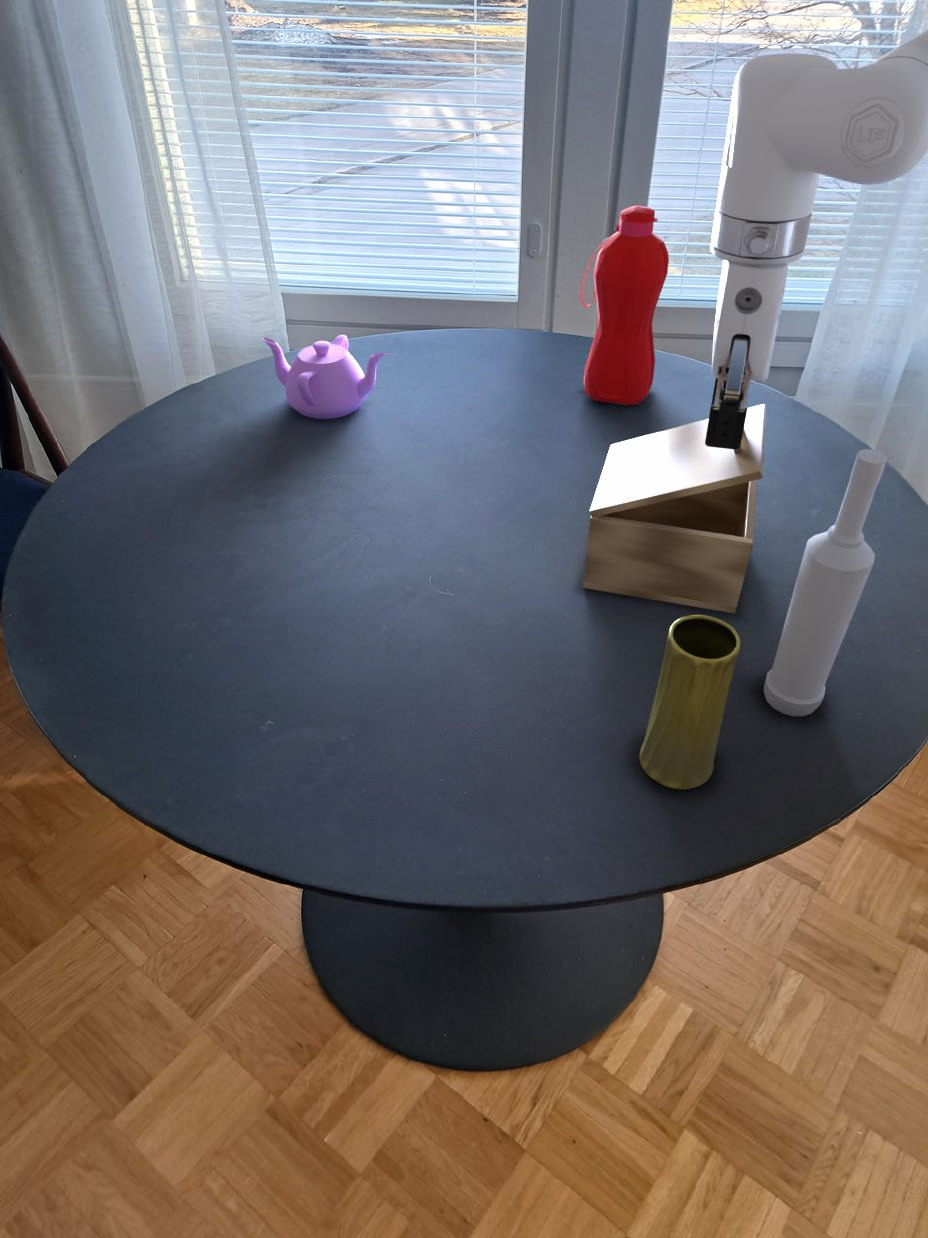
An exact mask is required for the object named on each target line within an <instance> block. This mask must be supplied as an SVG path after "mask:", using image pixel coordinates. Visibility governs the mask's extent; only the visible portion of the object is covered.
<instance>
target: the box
mask: <svg viewBox="0 0 928 1238" xmlns="http://www.w3.org/2000/svg"><path fill="white" fill-rule="evenodd" d="M757 490H758V480H754V481H750V482H745V483H741V484H737V485H732V486H728V487H724V488H719V489H715V490H710V491H706V492H702V493H697V494H693V495H689V496H684V497H680V498H675V499H671V500H667V501H662V502H658V503H654V504H649V505H645V506H641V507H636V508H632V509H627V510H623V511H619V512H614V513H610V514H606V515H601V516H597V517H592V516H591V515H590V518H589V527H588V534H587V535H588V537H587V546H586V554H585V555H586V556H585V564H584V565H585V566H584V574H583V584H582V588H583V589H588V590H593V591H599V592H605V593H611V594H617V595H622V596H623V595H624V596H629V597H635V598H640V599H641V598H642V599H646V600H653V601H659V602H665V603H671V604H677V605H681V606H688V607H693V608H699V609H705V610H712V611H718V612H722V613H729V614H735V615H736V611H737V609H738V608H737V607H738V604H739V600H740V596H741V592H742V589H743V585H744V581H745V577H746V572H747V569H748V565H749V561H750V557H751V553H752V549H753V545H754V536H755V535H754V533H755V518H756V506H757V505H756V504H757V492H758V491H757Z"/></svg>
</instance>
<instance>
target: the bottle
mask: <svg viewBox="0 0 928 1238" xmlns="http://www.w3.org/2000/svg"><path fill="white" fill-rule="evenodd" d="M887 462H888V457H887V455H886V454H885V453H883V452H882V451H879V450H877V449H871V448H869V449H867V448H866V449H860V450H859V451H858V452H857V454H856V457H855V460H854V462H853V463H854V464H853V467H852V469H851V473H850V476H849V481H848V484H847V486H846V487H847V488H846V490H845V494H844V496H843V499H842V502H841V505H840V508H839V512H838V515H837V517H836V521H835V523H834V524H833V525H831V526H830V527H829V528H828V530H827V531H824V532H821V533H817V534H814V535H812V536H811V537H810V538H809V539H808V540H807V542H806V544H805V549H804V552H803V556H802V560H801V564H800V567H799V571H798V574H797V576H796V577H797V578H796V580H795V585H794V588H793V591H792V595H791V599H790V603H789V606H788V609H787V613H786V617H785V621H784V623H783V629H782V632H781V636H780V639H779V643H778V645H777V650H776V653H775V657H774V661H773V664H772V668H771V669H770V670H769V671H768V672H767V674H766V676H765V681H764V685H763V693H764V694H763V695H764V697H765V700H766V702H767V704H769V705H770V707H771V708H772V709H774V710H776V711H777V712H779V713H780V714H784V715H787V716H791V717H805V716H808V715H811V714H813V713H814V712H815V711H816V710H817V709H818V708H819V706H821V704H822V703H823V700H824V697H825V696H826V695H825V694H826V690H827V689H826V683H827V681H828V678H829V676H830V673H831V671H832V668H833V666H834V663H835V660H836V659H837V656H838V654H839V650H840V649H841V646H842V643H843V641H844V638H845V636H846V634H847V631H848V628H849V626H850V623H851V621H852V618H853V616H854V614H855V612H856V608H857V606H858V604H859V601H860V598H861V596H862V593H863V591H864V588H865V585H866V584H867V581H868V579H869V576H870V573H871V571H872V569H873V566H874V565H875V564H874V563H875V559H876V558H875V557H876V554H875V552H874V550H873V549H872V547H871V546H870V545H869V544H868V543H867V542H866V541H865V535H864V532H862V531H863V528H864V525H865V522H866V520H867V516H868V513H869V510H870V507H871V505H872V502H873V499H874V496H875V493H876V491H877V487H878V485H879V483H880V481H881V478H882V475H883V473H884V470H885V468H886V464H887Z"/></svg>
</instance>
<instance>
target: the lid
mask: <svg viewBox="0 0 928 1238" xmlns="http://www.w3.org/2000/svg"><path fill="white" fill-rule="evenodd" d="M720 402H721V401H720ZM746 408H747V414H746V419H745V425H744V430H743V435H742V440H741V445H740V448H739V449H737V450H734V449H725V448H716V447H708V446H706V445H705V439H706V433H707V427H708V421H709V418H706V419H705V418H704V419H702V420H698V421H695V422H691V423H686V424H683V425H679V426H676V427H672V428H668V429H664V430H661V431H657V432H653V433H650V434H645V435H642V436H638V437H635V438H631V439H627V440H623V441H620V442H615V443H613V444H610V447H609V450H608V453H607V455H606V459H605V462H604V466H603V469H602V472H601V474H600V478H599V481H598V484H597V487H596V490H595V493H594V496H593V499H592V502H591V506H590V508H589V513H590V517H591V516H592V517H597V516H601V515H606V514H610V513H614V512H619V511H623V510H627V509H632V508H636V507H641V506H645V505H649V504H654V503H658V502H662V501H667V500H671V499H675V498H680V497H684V496H689V495H693V494H697V493H702V492H706V491H710V490H715V489H719V488H724V487H728V486H732V485H737V484H741V483H745V482H750V481H754V480H757V481H758V480H762V479H764V467H765V466H764V464H765V463H764V462H765V446H766V431H767V429H766V428H767V412H768V411H767V410H768V408H767V405H766V403H761V404H757V405H754V406H750V407H746Z"/></svg>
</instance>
